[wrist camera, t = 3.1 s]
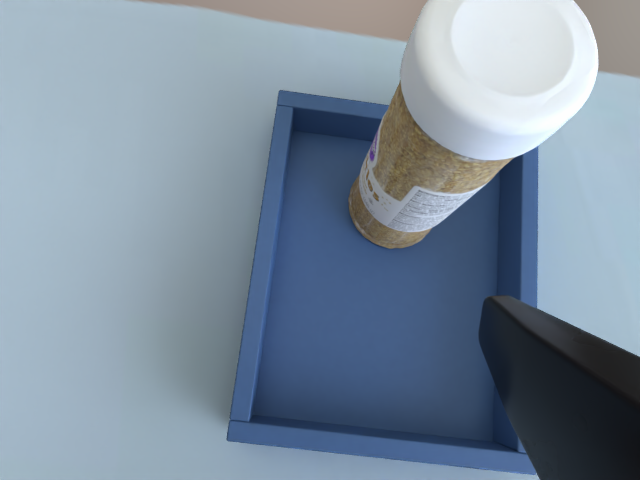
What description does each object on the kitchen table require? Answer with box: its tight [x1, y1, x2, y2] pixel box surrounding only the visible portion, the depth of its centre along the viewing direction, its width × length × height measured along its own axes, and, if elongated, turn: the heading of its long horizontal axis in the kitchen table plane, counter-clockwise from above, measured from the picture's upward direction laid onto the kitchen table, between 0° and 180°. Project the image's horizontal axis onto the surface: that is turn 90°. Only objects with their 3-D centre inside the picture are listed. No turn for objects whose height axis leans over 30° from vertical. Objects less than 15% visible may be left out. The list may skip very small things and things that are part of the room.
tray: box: [227, 90, 538, 475], centre depth 22 cm, size 16×13×3 cm
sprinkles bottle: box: [348, 0, 598, 249], centre depth 18 cm, size 5×5×13 cm
